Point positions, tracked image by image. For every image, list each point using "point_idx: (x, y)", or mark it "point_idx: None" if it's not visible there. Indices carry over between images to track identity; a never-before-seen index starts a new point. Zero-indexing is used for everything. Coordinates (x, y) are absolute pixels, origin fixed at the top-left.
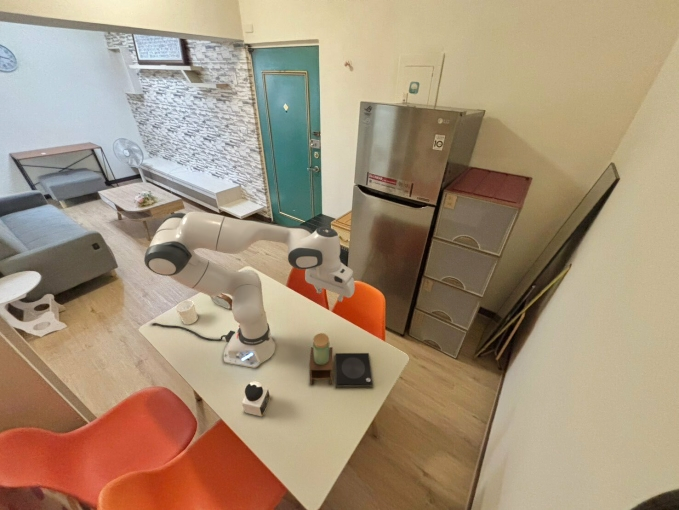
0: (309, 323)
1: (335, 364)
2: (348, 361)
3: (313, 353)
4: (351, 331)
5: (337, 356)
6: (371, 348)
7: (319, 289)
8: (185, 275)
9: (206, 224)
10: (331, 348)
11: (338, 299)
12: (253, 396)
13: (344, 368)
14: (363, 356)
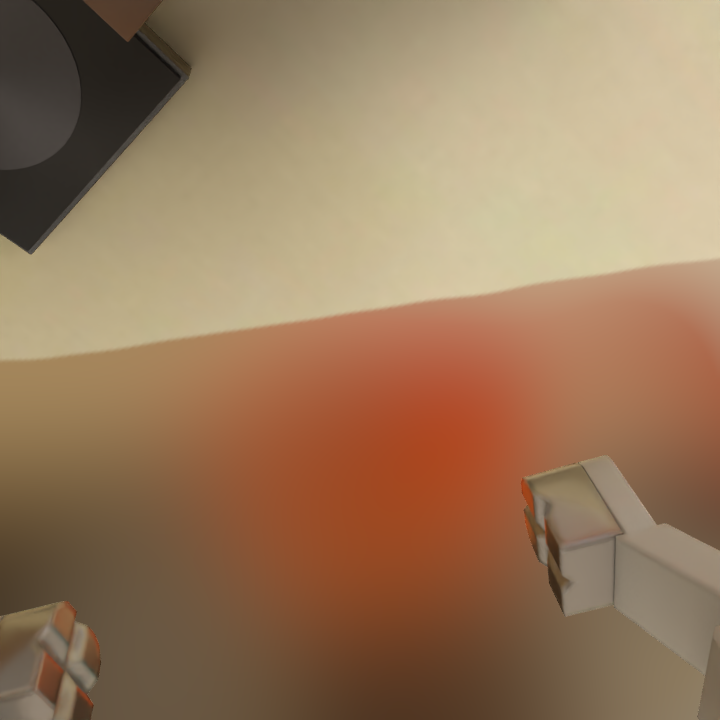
0: (555, 145)
1: None
2: (50, 92)
3: None
4: (271, 302)
5: (147, 63)
6: (75, 296)
7: (603, 571)
8: None
9: None
10: (119, 21)
11: (13, 661)
12: None
13: (12, 14)
14: (22, 209)
